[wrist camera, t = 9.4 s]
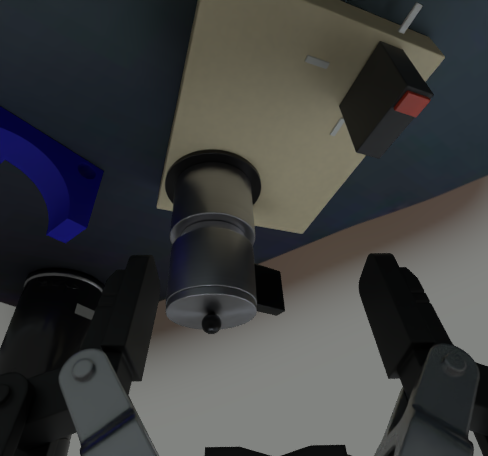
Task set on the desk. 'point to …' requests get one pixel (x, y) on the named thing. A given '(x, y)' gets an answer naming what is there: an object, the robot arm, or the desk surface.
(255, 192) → the burner
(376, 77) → the black box with red
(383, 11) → the desk surface
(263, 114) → the hot plate
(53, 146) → the cable clip
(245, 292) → the moka pot
